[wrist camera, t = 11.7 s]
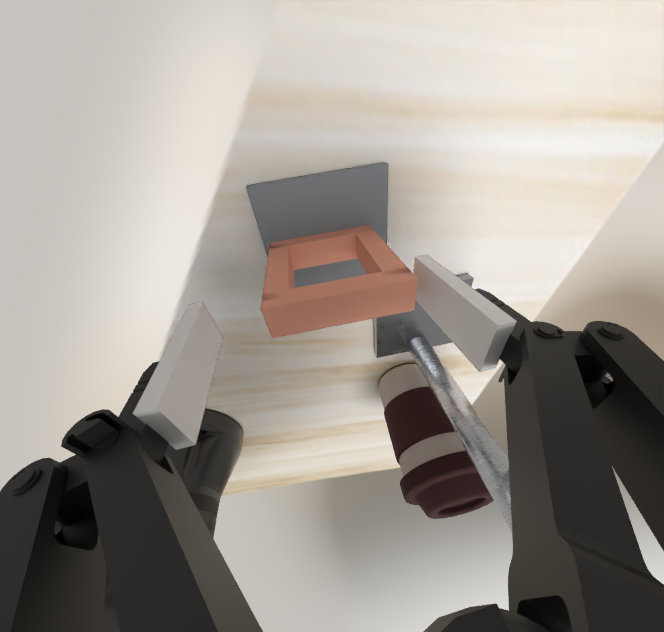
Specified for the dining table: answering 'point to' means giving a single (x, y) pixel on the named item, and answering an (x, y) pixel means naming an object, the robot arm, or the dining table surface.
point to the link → (334, 282)
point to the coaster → (322, 212)
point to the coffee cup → (428, 448)
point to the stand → (448, 393)
